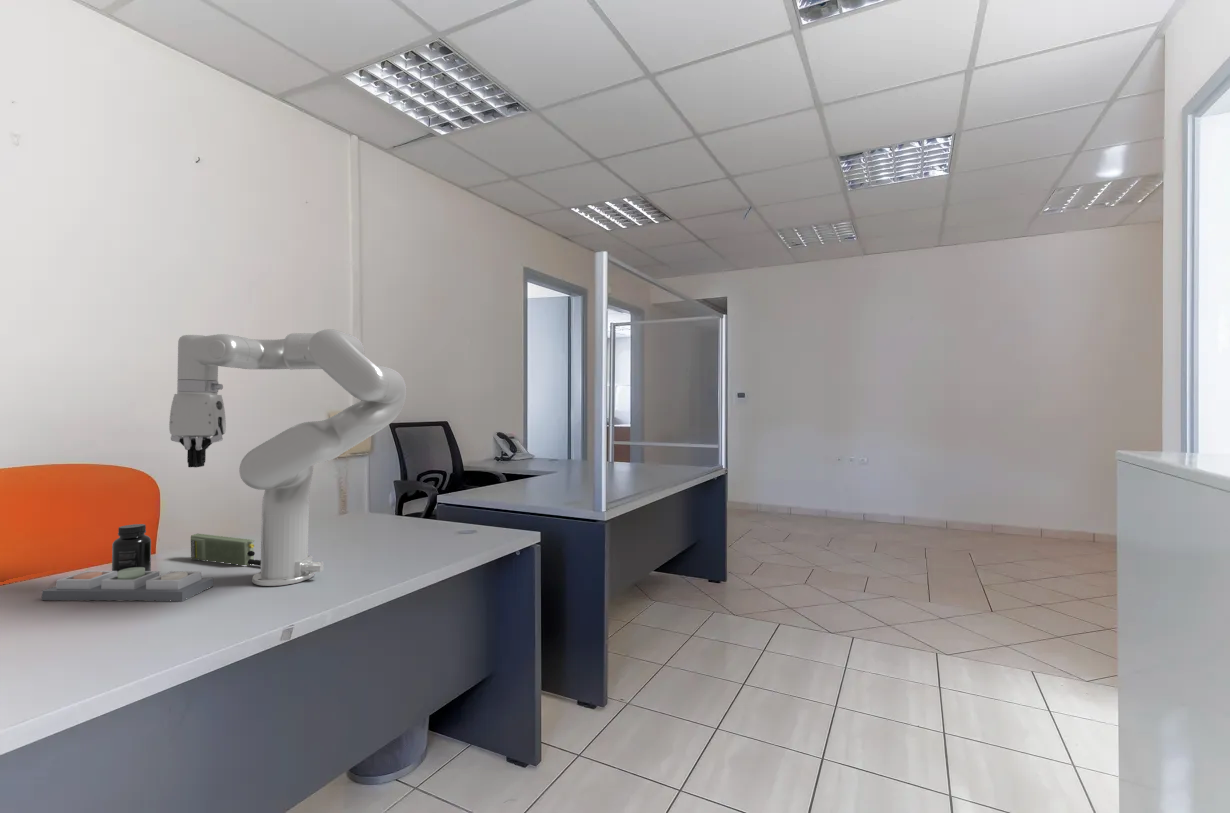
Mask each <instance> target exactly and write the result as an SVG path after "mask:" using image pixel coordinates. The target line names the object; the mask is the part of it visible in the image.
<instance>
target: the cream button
mask: <svg viewBox="0 0 1230 813" xmlns="http://www.w3.org/2000/svg"><path fill="white" fill-rule="evenodd" d="M162 575H163V574H162ZM186 576H188V573H187V572H175V573H170V574H166V575H163V576H162V577H161V580H178V579H181V578H183V577H186Z"/></svg>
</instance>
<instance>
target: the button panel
mask: <svg viewBox="0 0 1230 813" xmlns="http://www.w3.org/2000/svg"><path fill="white" fill-rule="evenodd" d="M94 571H95V570H84V571H82V572H81V571H80V572H78V573H75V574H72V575H69V576H65V577H62V578H59V579H57V580H56V585H55V586H52V587H50V588H47V589H44V590H41V601H42V600H148V601H147V602H184V601H186V600H187V599H186V598H188V599H190V598H189V597H191V596H193V595H195V594H197V593H199V592H201V593H203V592H204V591H203V590H205V589H207V588H209V587H211V586H213V587H214V578H213V577H202V571H192V570H191V571H189V570H188V571H186V570H185V571H183V570H182V571H176V570H175V571H173V570H171V571H168V572H165V573H163V574H161V573H160V572H161V571H159V570H158V571H157V570H151V571H145V575H144V576H142V577H139V578H136V579H134V580H125V579H117V571H112V570H98V571H99V572H102V575H100V576H97V577H94V578H91V579H73V576H75V575H77V574H81V573H86V572H94ZM175 572H187V573H188V576H186V577H183V578H181V579H178V580H161V577H162V576H163V575H166V574H170V573H175ZM160 574H161V575H160ZM202 591H203V592H202ZM205 591H206V590H205ZM199 594H200V593H199ZM197 595H198V594H197ZM195 596H196V595H195ZM193 597H194V596H193ZM191 598H192V597H191ZM185 599H186V600H185ZM154 600H156V601H154ZM170 600H171V601H170ZM183 600H184V601H183Z"/></svg>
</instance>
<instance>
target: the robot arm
mask: <svg viewBox="0 0 1230 813" xmlns="http://www.w3.org/2000/svg"><path fill="white" fill-rule="evenodd" d="M177 342H178V343H177V381H176V382H177V383H176V385H177V388H176V389H177V390H176V393H175V394H173V398H172V401H171V407H170V412H169V414H170V415H169V424H168V425H169V426H168V427H169V428H168V429H169V433H170V435H171V436H170V441H172V442H175V443H180V444H181V445H182V446H183V447H184V449H185V450H186V451H187V455H186V456H187V458H186V459H187V466H188V468H201V467H204V466H205V463H206V453H207V451H206V450H208V449H209V448H210V446H211V445H212V444H214V443H218V442H222V441H223V439H224V438H223V435H225V434H226V431H227V430H226V428H227V426H226V424H227V423H226V411H225V403H224V399H223V395H222V394H218V393H219V390H223V388H224V384H222V383H219V367H224V368H234V369H242V370H291V371H292V370H323V371H324V372H325V373H326V374H327V375H328V376H329V377H330V378H332V379H333V381H335V382H336V383H337V384H338V385H339V386H341V388H343V389H344V390H345V391H346V392H347V393H348V394H349V395H351V396H353V398H356V399H358V400H360V401H359V402H355V403H354V404H352V405H349V406H348V407H346V408H345V409H343V410H341V411H339V412H338V413H336V414H334V415H333V416H330V417H328V418H326V419H323V420H317V421H306V422H301V423H298V424H296V425H293V426H291V427H288V428H287V429H285V430H284V431H282V432H280V433H278V434H276V435H275V436H273V437H271V438H270V439H268V440H266V441H264V442H263V443H260V444H259V445H258V446H256V447H254V448H253V449H251V450H250V451H248V452H247V453H246V454H245V455H244V456H243V458H242V460H241V462H240V465H239V476H240V479H241V481H242V482H243V483H244V485H246V486H248V487H249V488H251V489H255V490H257V491H258V490H259V491H260V490H261V491H264V492H263V496H262V501H261V503H262V504H261V527H260V528H261V531H260V532H261V534H260V537H261V538H260V540H261V541H260V542H261V543H260V560H261V566H260V571H259V572H257V573H254V575H252V580H251V581H252V583H253V585H256V586H260V587H261V586H262V587H278V586H287V585H293V584H297V583H300V582H304V581H306V580H309V579H311V578H313V577H314V576H315V575H316V574H315V573H322V572H323V571H324V568H325V565H324V561H314V560H313V555H309V521H310V520H309V518H310V515H309V514H310V513H309V512H310V492H311V491H310V490H311V484H312V479H313V474H314V465H317V464H320V463H326V462H329V461H332V460H334V459H336V458H338V457H339V456H341V455H342V454H344V453H345V452H347V451H349V450H351V449H352V448H354V447H356V446H357V445H359V444H361V443H363V442H364V441H365V440H367V439H368V438H370V437H372V436H373V435H375V434H377V433H378V432H380V431H381V430H384V429H385V428H386V427H387V426H389V425H390V424H391V423H392V422H394V421H395V419H397V417H398V416H399V415H400V414H401V412H402V410H403V408H404V405H405V404H406V400H407V384H406V381H405V379H404V377H403V376H402V374H400V372H398V371H397V370H395V369H393V368H392V367H388V366H383V365H379V364H375V363H374V362H373V361H371V360H370V359H369V358H368V357H366V356H365V346H364V344H363V342H362V341H361V340H360V339H359V338H358V337H356V336H355V335H353V334H350V333H349V332H348V333H347V332H343V331H340V330H337V329H331V328H329V329H328V328H327V329H326V328H325V329H322V330H319V331H317V332H315V333H305V332H303V333H297V332H293V333H289V334H287V335H286V336H285V338H281V339H253V338H247V337H243V336H239V335H238V336H237V335H232V334H228V333H227V334H225V333H223V334H222V333H220V334H219V333H218V334H211V335H210V334H209V335H203V334H201V335H200V334H185V335H184V334H183V335H181V336H180V337H179V338H178V340H177Z"/></svg>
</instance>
